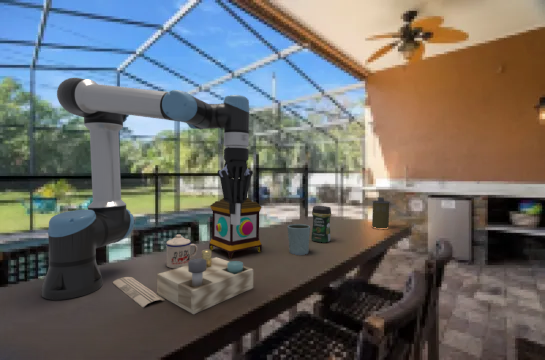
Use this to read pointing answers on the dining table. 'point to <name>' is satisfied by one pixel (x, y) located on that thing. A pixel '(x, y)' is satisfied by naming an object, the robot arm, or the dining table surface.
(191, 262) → the grey knob
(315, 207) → the coffee jar
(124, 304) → the dining table surface
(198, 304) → the mount
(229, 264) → the teal knob
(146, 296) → the newspaper
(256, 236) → the decorative lantern
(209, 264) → the brass post
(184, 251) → the teacup with lid
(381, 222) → the canister
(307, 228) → the blue cup
